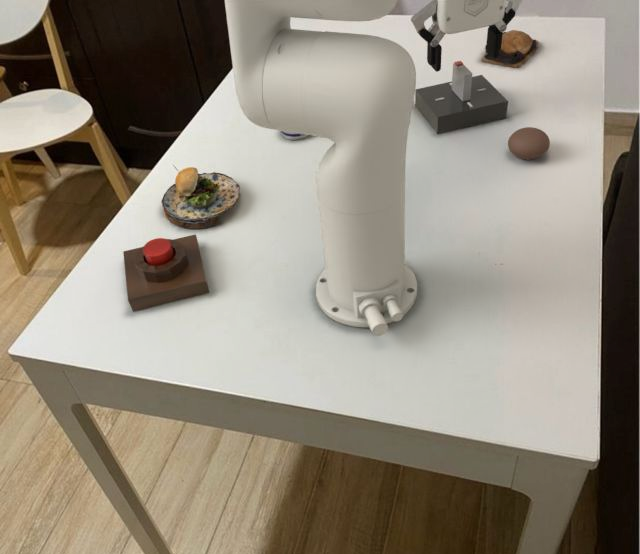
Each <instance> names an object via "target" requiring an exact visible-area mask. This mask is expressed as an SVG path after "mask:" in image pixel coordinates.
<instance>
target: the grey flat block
mask: <svg viewBox="0 0 640 554" xmlns="http://www.w3.org/2000/svg"><path fill="white" fill-rule="evenodd" d="M472 77H473V72H472V71H471V70H470V69H469V68H468V67H467V66H466V65H465V64H464V62H463V61H462V60H458V61H454V62H453V63H452V74H451V81H452V91H453V92H454V93H455V94H456V95H457V96H458V97H459V98H460V99H461V101H467V100H470V97H471V85H472Z"/></svg>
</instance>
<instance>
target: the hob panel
mask: <svg viewBox="0 0 640 554" xmlns="http://www.w3.org/2000/svg"><path fill="white" fill-rule="evenodd" d="M414 106H415V108H416V109H417V110H418V111H419V112H420V114H421V115H422V117H423V118H424V119H425V121H426V122H427V123H428V124H429V126H430V127H431V128H432V129H433V130H434V132H435V133H436V134H437V135H439V134H443V133H447V132H452V131H456V130H457V131H458V130H461V129H464V128H469V127H470V128H471V127H473V126H478V125H483V124H487V123H491V122H495V121H500V120H504V119H507V115H508V108H509V107H508V106H509V100H508V99H507V98H506V97H505V96H504V95H503V94H502V93H501V92H500V91H499V90H498V89H497V88H496V87H495V86H494V85H493V84H492V83H491V82H489V80H488V79H486V77H485V76H484V75H482V74H479V75H475V76H472V85H471V97H470V100H467V101H461V99H460V98H459V97H458V96H457V95H456V94H455V93H454V92H453V91H452V80H451V81H447V82H443V83H439V84H433V85H429V86H424V87H421V88H415V95H414Z"/></svg>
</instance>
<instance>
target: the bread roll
mask: <svg viewBox="0 0 640 554" xmlns="http://www.w3.org/2000/svg"><path fill="white" fill-rule="evenodd" d="M539 44H540V43H539V40H536V39H533V38H532V37H531V35H529V34H528V33H526V32H524V31H522V30H517V29H512V30H507V31H504V32H503V34H502V43H501V49H499V57H498V58H493V57H492V56H491V55H490V54H489V53H488V52H487V51H486V45H485V48H484V49H485V53H484V54H483V55H482V57H481V62H483V63H485V64H486V63H488V64H492V65H500V66H502V67H509V68H518V69H519V68H521V67H522V66H523V65H524V63H526V62H527V61H528V59H529V58H530V57H532V56H533V54H534V53H535V51H537V49H538V47H539Z"/></svg>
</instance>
